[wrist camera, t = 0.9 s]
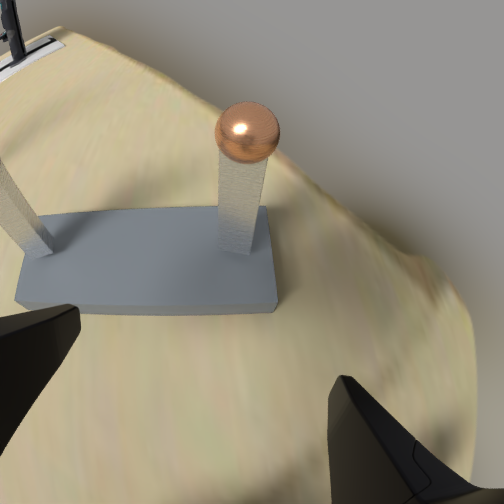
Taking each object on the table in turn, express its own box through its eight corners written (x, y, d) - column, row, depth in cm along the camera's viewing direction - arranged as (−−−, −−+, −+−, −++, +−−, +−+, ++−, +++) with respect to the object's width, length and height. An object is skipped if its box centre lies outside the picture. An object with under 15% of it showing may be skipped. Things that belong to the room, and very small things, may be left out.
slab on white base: (65, 46, 54) (53, -34, 29) (-11, 90, 44) (-34, 11, 19) (49, 36, 64) (39, -24, 39) (-9, 69, 53) (-25, 9, 29)
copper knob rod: (252, 266, 22) (281, 132, 11) (210, 257, 22) (206, 119, 11) (259, 230, 24) (288, 97, 13) (220, 222, 24) (225, 86, 13)
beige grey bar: (57, 259, 20) (-21, 155, 10) (28, 268, 20) (-54, 175, 9) (57, 229, 22) (-6, 123, 11) (30, 238, 21) (-38, 142, 10)
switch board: (272, 312, 24) (278, 302, 22) (28, 309, 21) (14, 300, 19) (262, 221, 28) (266, 205, 26) (46, 229, 26) (36, 216, 23)
